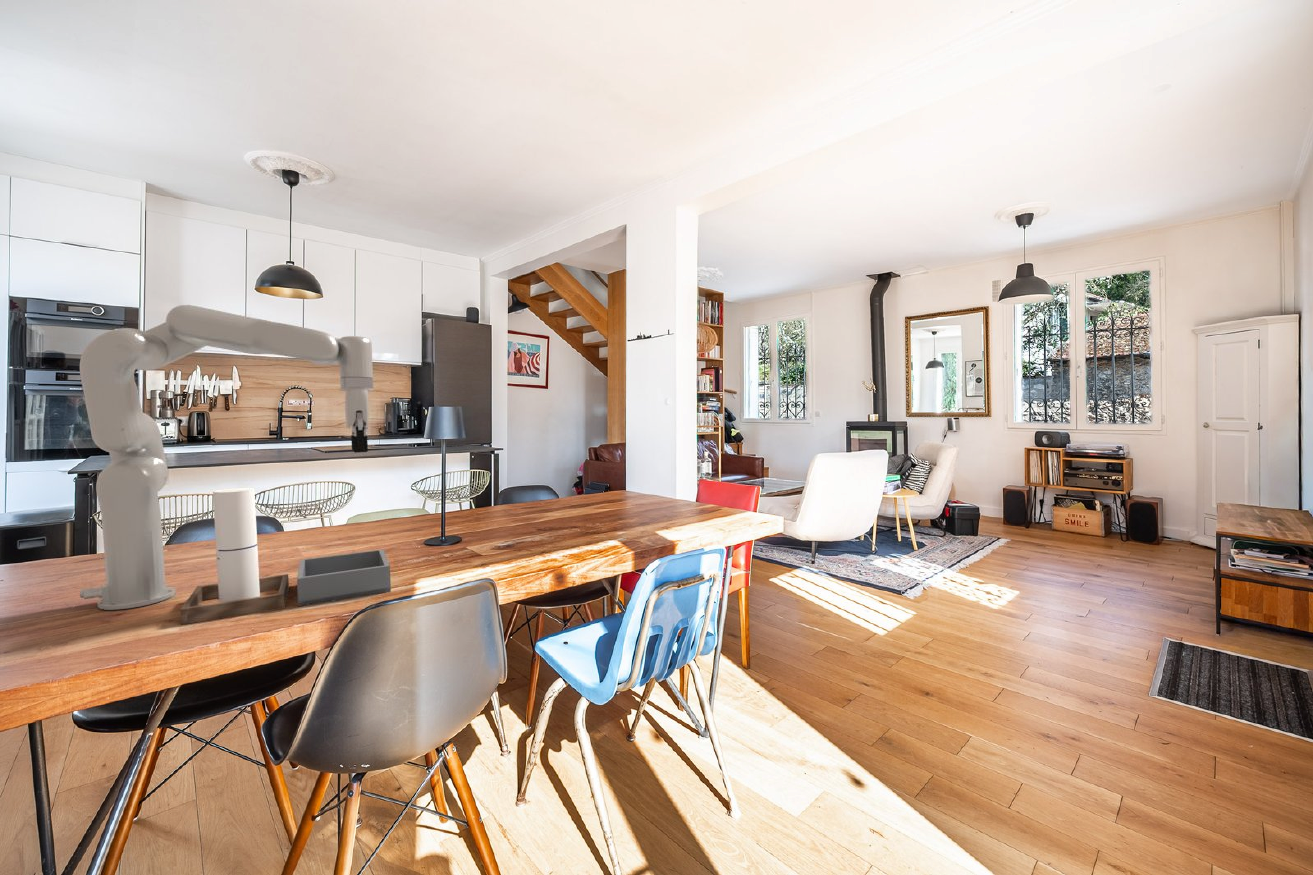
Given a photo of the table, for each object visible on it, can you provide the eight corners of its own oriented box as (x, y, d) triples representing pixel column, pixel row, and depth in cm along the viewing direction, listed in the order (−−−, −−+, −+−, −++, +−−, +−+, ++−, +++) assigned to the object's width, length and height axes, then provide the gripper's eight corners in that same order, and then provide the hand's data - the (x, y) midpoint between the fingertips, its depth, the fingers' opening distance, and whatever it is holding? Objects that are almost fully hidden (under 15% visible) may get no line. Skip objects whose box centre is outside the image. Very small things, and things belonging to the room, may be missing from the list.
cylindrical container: (238, 610, 118) (232, 492, 116) (210, 608, 119) (204, 492, 118) (268, 599, 125) (262, 487, 123) (241, 597, 126) (235, 487, 125)
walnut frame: (181, 624, 110) (180, 609, 110) (197, 599, 125) (197, 586, 125) (284, 608, 119) (283, 594, 119) (288, 586, 133) (288, 574, 133)
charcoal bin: (298, 606, 120) (297, 578, 119) (301, 584, 135) (300, 559, 135) (390, 591, 129) (389, 565, 128) (383, 572, 144) (382, 549, 144)
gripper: (339, 386, 150) (342, 449, 151) (341, 383, 135) (344, 454, 136) (370, 386, 154) (373, 448, 155) (375, 383, 139) (378, 452, 140)
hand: (359, 451), depth 145 cm, fingers open, 9 cm apart
